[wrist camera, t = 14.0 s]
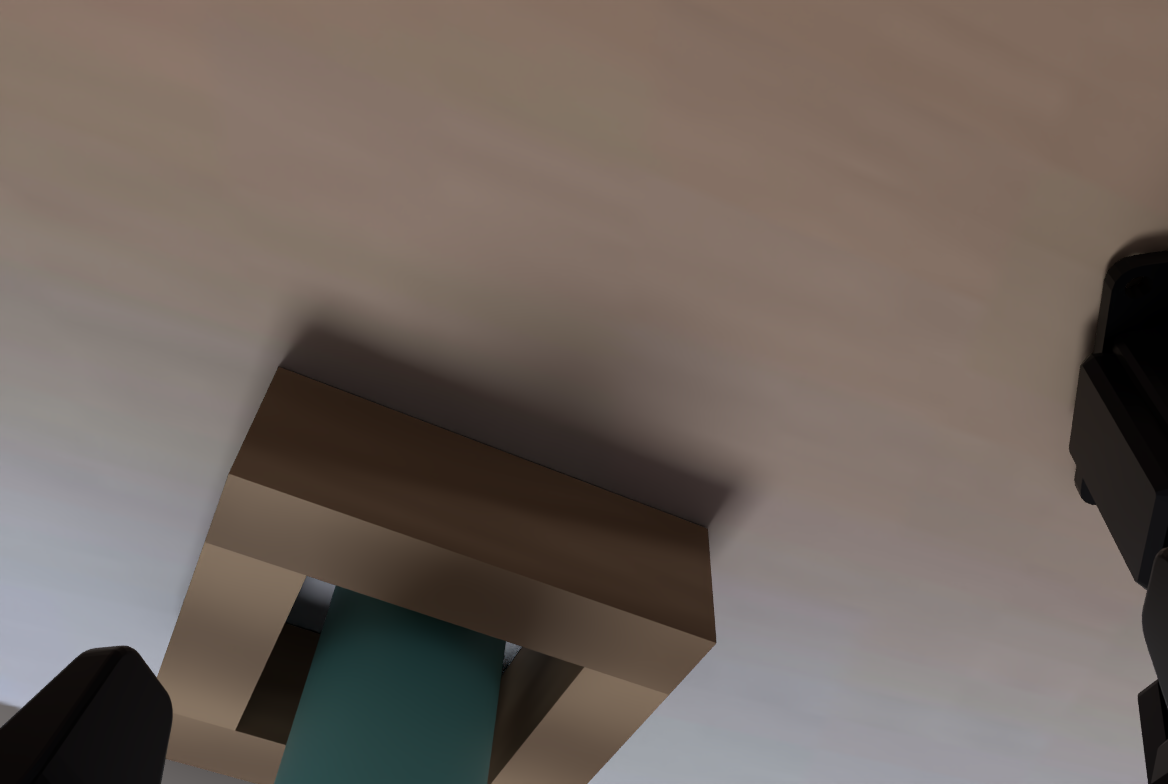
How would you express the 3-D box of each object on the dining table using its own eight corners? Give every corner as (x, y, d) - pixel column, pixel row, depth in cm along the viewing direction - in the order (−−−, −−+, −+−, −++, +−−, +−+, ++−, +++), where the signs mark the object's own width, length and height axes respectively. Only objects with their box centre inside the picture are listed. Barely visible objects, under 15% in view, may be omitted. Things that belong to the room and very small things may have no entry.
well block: (278, 366, 22) (228, 473, 20) (707, 528, 25) (716, 643, 22) (179, 639, 29) (131, 749, 26) (530, 746, 31) (520, 856, 29)
